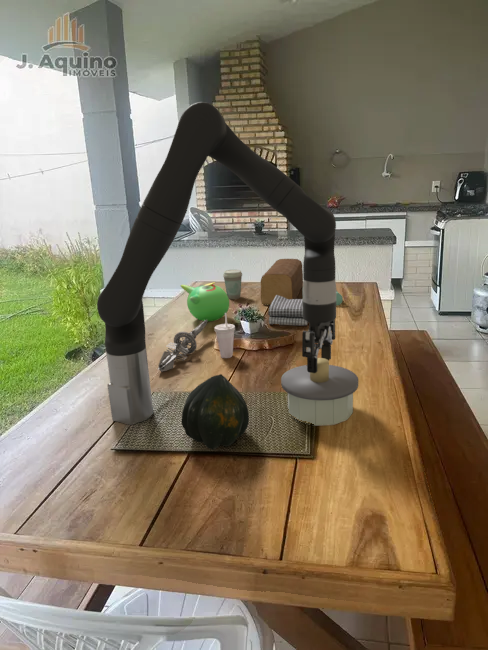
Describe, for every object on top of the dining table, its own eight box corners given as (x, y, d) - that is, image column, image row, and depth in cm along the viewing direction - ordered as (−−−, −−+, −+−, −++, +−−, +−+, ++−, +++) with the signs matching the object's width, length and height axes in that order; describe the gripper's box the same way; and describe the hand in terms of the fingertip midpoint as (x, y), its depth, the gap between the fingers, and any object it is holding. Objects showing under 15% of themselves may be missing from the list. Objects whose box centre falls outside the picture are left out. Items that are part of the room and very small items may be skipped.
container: (323, 278, 232) (331, 290, 208) (335, 282, 232) (345, 295, 208) (318, 290, 233) (326, 303, 209) (330, 294, 234) (339, 308, 210)
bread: (303, 286, 243) (303, 257, 239) (293, 306, 212) (292, 272, 208) (274, 286, 247) (273, 257, 242) (260, 305, 215) (258, 272, 211)
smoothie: (234, 360, 157) (231, 316, 153) (214, 359, 159) (210, 316, 154) (238, 352, 163) (236, 310, 159) (219, 352, 165) (216, 310, 160)
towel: (267, 327, 188) (266, 306, 185) (273, 312, 205) (273, 293, 203) (309, 327, 185) (309, 306, 183) (312, 312, 202) (311, 293, 200)
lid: (343, 406, 110) (343, 382, 108) (268, 391, 118) (267, 369, 117) (368, 375, 124) (368, 353, 123) (299, 364, 133) (299, 344, 131)
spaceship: (219, 315, 176) (199, 306, 177) (174, 363, 146) (150, 352, 147) (214, 334, 179) (194, 325, 181) (169, 385, 150) (145, 373, 151)
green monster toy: (236, 322, 194) (234, 284, 189) (193, 330, 188) (190, 291, 183) (220, 311, 210) (218, 276, 205) (180, 317, 204) (177, 281, 199)
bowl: (338, 430, 114) (339, 402, 112) (278, 417, 121) (277, 390, 119) (360, 402, 126) (360, 376, 124) (303, 392, 133) (303, 367, 131)
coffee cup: (221, 299, 227) (220, 273, 223) (227, 295, 235) (226, 269, 231) (240, 300, 225) (238, 273, 221) (245, 295, 232) (244, 269, 229)
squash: (175, 441, 102) (219, 380, 102) (165, 411, 116) (204, 358, 116) (229, 472, 108) (272, 414, 107) (213, 440, 122) (251, 389, 121)
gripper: (323, 308, 107) (323, 379, 112) (346, 292, 119) (345, 357, 124) (290, 305, 111) (292, 374, 116) (315, 290, 123) (316, 353, 128)
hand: (319, 365), depth 120 cm, fingers open, 8 cm apart
